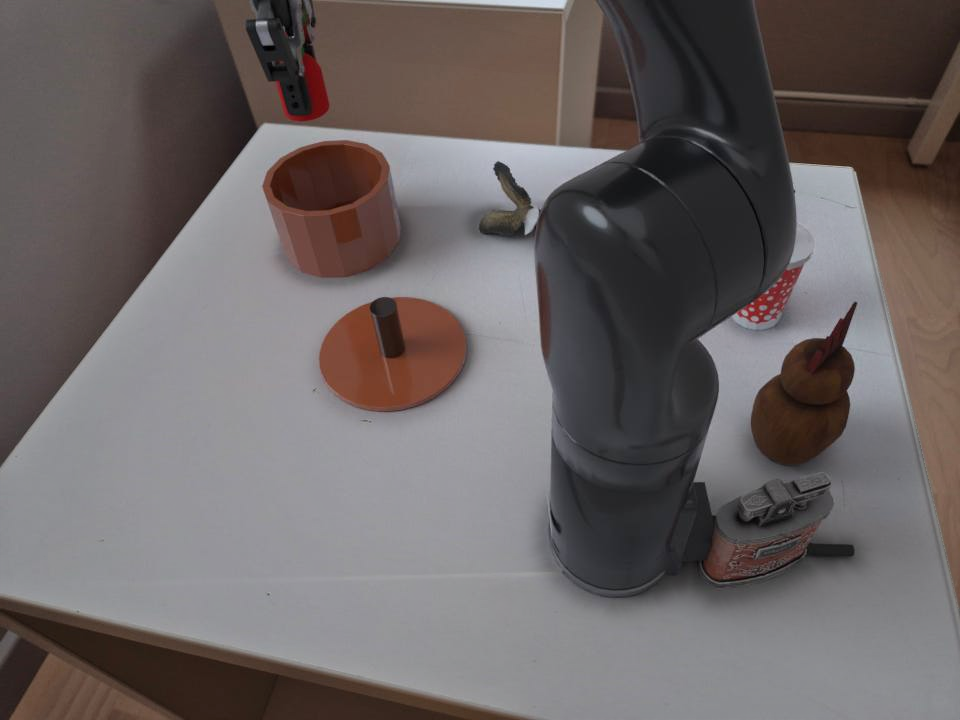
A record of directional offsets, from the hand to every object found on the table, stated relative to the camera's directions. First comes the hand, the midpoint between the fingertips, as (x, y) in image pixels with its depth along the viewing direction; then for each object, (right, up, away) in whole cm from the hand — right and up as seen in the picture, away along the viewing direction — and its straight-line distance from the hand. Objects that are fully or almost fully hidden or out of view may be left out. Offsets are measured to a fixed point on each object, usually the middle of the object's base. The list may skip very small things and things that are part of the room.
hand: (305, 98), depth 68 cm
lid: (+8, -23, +1) cm, 25 cm away
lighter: (+36, -39, -14) cm, 54 cm away
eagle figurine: (+20, -10, +13) cm, 26 cm away
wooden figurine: (+41, -31, -7) cm, 52 cm away
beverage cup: (+42, -20, +3) cm, 46 cm away
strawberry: (0, -1, +1) cm, 1 cm away
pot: (+1, -11, +13) cm, 17 cm away
